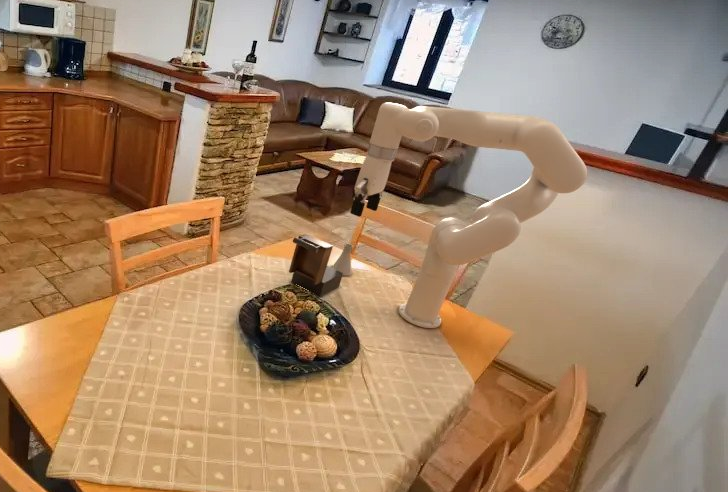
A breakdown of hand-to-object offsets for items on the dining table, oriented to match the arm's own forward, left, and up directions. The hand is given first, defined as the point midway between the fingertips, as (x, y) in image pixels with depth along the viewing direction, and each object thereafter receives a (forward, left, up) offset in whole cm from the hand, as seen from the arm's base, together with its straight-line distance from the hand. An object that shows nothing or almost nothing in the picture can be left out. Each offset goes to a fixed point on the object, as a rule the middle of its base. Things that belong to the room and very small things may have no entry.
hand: (363, 212), depth 142 cm
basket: (+5, -9, -17) cm, 20 cm away
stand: (-1, -9, -28) cm, 30 cm away
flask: (-18, -9, -28) cm, 35 cm away
